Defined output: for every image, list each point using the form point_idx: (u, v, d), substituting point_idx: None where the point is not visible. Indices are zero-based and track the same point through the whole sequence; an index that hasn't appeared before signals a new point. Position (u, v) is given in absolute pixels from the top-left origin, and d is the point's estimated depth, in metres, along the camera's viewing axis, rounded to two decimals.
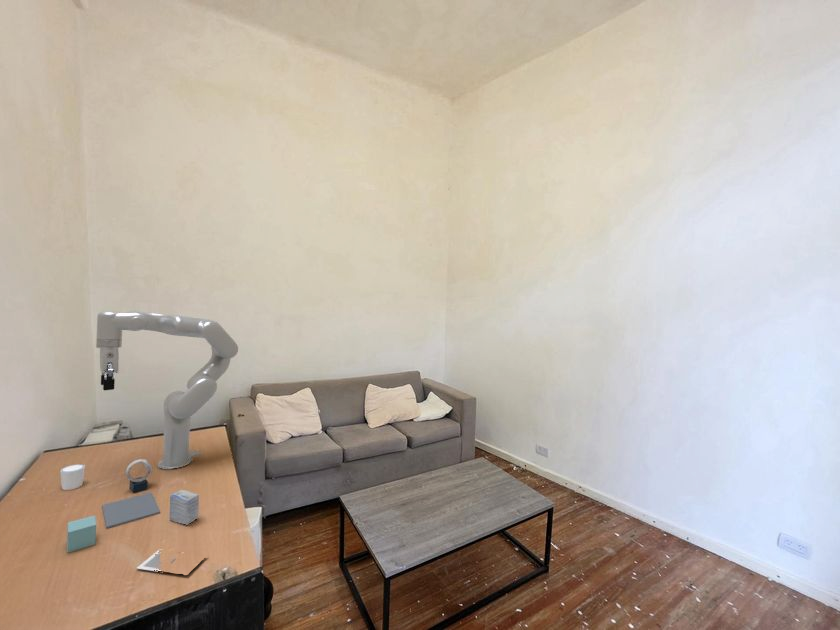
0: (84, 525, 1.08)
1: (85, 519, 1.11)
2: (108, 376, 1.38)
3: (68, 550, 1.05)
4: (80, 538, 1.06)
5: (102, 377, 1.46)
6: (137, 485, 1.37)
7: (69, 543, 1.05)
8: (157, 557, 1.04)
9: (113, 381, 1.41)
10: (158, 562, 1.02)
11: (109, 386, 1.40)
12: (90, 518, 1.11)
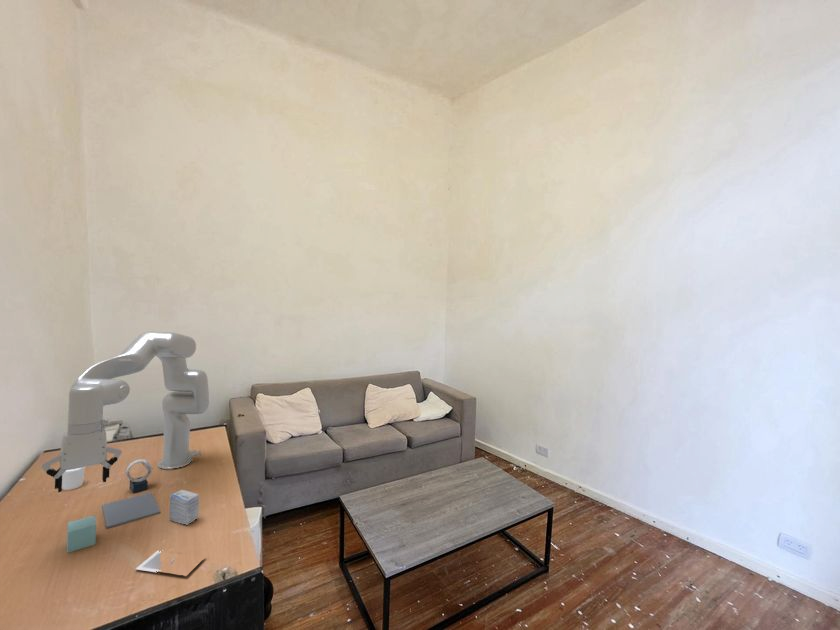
0: (84, 525, 1.08)
1: (85, 519, 1.11)
2: None
3: (68, 550, 1.05)
4: (80, 538, 1.06)
5: (61, 480, 1.04)
6: (137, 485, 1.37)
7: (69, 543, 1.05)
8: (156, 558, 1.04)
9: None
10: (157, 563, 1.02)
11: (108, 474, 1.12)
12: (90, 518, 1.11)
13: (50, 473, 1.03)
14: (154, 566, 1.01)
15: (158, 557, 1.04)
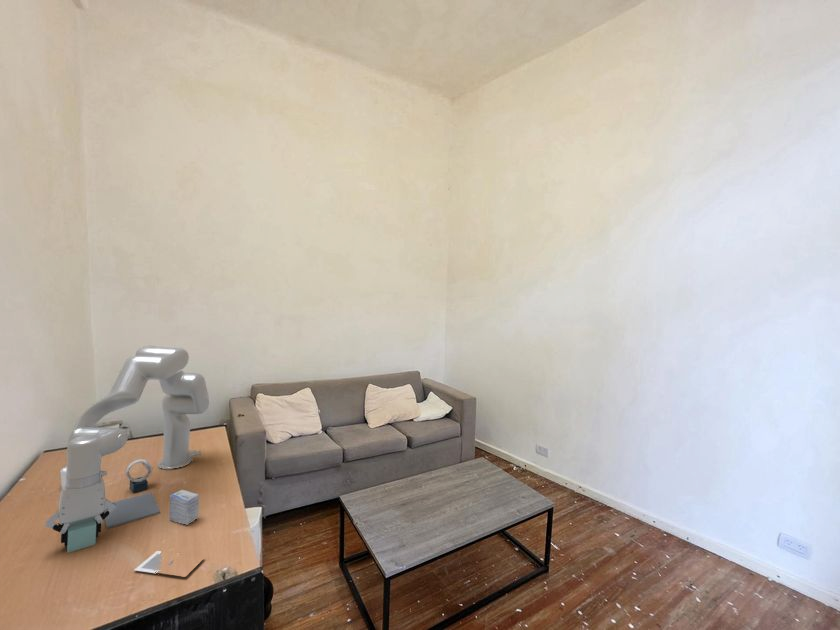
0: (84, 525, 1.08)
1: (85, 519, 1.11)
2: None
3: (68, 550, 1.05)
4: (80, 538, 1.06)
5: (67, 535, 1.06)
6: (137, 485, 1.37)
7: (69, 543, 1.05)
8: (155, 559, 1.04)
9: None
10: (156, 564, 1.02)
11: (100, 529, 1.12)
12: (90, 518, 1.11)
13: (56, 528, 1.04)
14: (153, 567, 1.00)
15: (157, 558, 1.04)
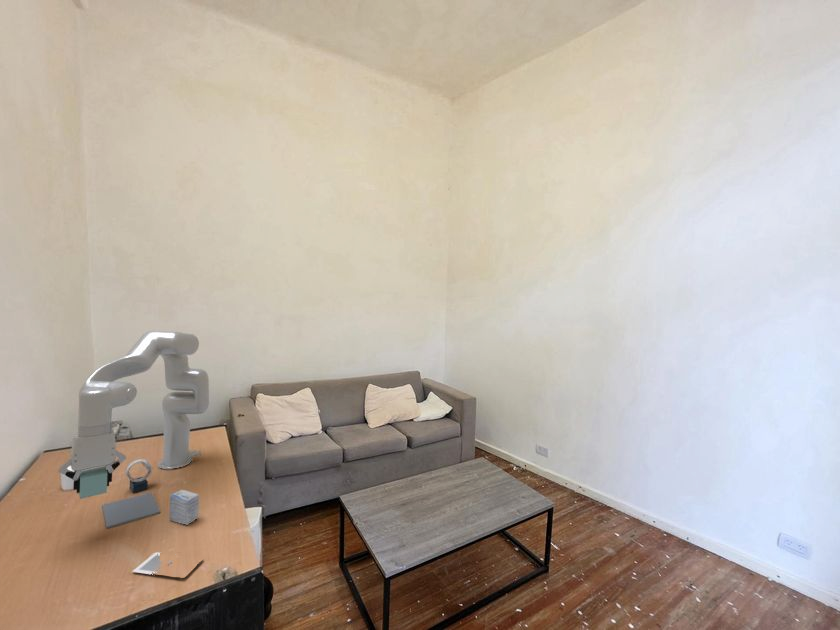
0: (96, 473, 1.11)
1: (96, 469, 1.13)
2: None
3: (80, 496, 1.08)
4: (91, 485, 1.09)
5: (79, 482, 1.09)
6: (137, 485, 1.37)
7: (81, 489, 1.08)
8: (153, 560, 1.03)
9: None
10: (154, 565, 1.01)
11: None
12: (101, 468, 1.14)
13: (69, 475, 1.07)
14: (151, 568, 1.00)
15: (155, 559, 1.03)
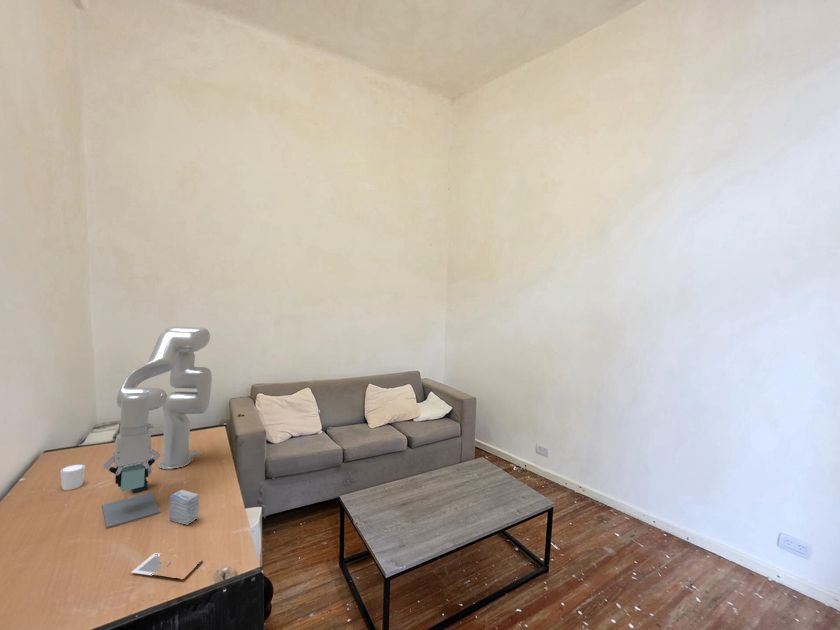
0: (134, 469, 1.25)
1: (134, 465, 1.28)
2: None
3: (122, 489, 1.22)
4: (131, 479, 1.24)
5: None
6: None
7: (123, 483, 1.22)
8: (152, 561, 1.03)
9: None
10: (153, 566, 1.01)
11: None
12: (138, 464, 1.28)
13: (112, 470, 1.22)
14: (150, 569, 1.00)
15: (154, 560, 1.03)
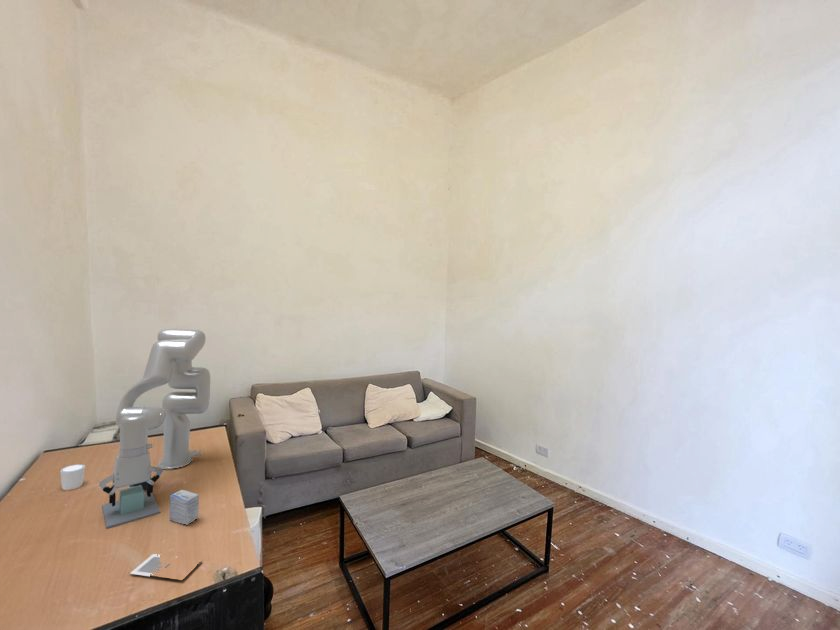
0: (134, 492, 1.26)
1: (134, 487, 1.28)
2: None
3: (122, 512, 1.23)
4: (131, 502, 1.24)
5: None
6: (137, 485, 1.37)
7: (122, 506, 1.23)
8: (151, 562, 1.02)
9: None
10: (152, 567, 1.01)
11: None
12: (138, 487, 1.29)
13: (106, 490, 1.21)
14: (149, 570, 0.99)
15: (153, 561, 1.03)
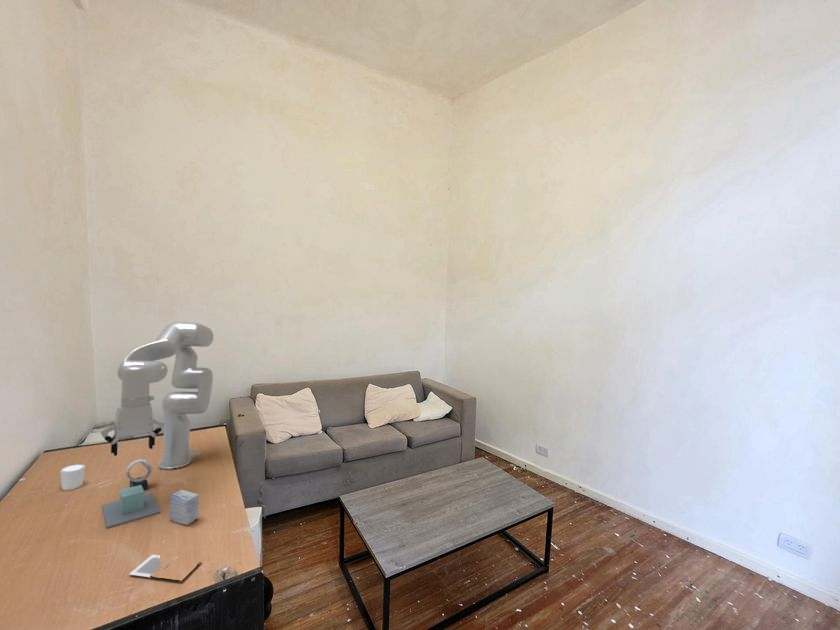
0: (134, 492, 1.26)
1: (134, 487, 1.28)
2: None
3: (122, 512, 1.23)
4: (131, 502, 1.24)
5: (116, 446, 1.22)
6: (137, 485, 1.37)
7: (122, 506, 1.23)
8: (150, 562, 1.02)
9: None
10: (151, 568, 1.00)
11: None
12: (138, 487, 1.29)
13: (108, 439, 1.21)
14: (148, 571, 0.99)
15: (152, 562, 1.02)
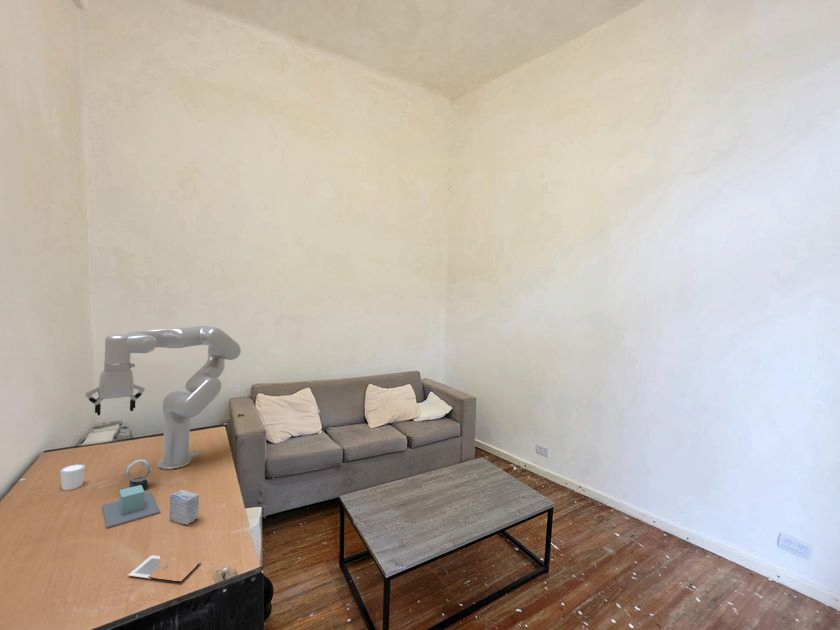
0: (134, 492, 1.26)
1: (134, 487, 1.28)
2: None
3: (122, 512, 1.23)
4: (131, 502, 1.24)
5: (100, 407, 1.36)
6: (137, 485, 1.37)
7: (122, 506, 1.23)
8: (149, 563, 1.02)
9: None
10: (150, 568, 1.00)
11: (134, 406, 1.44)
12: (138, 487, 1.29)
13: (92, 400, 1.34)
14: (147, 572, 0.99)
15: (151, 562, 1.02)
